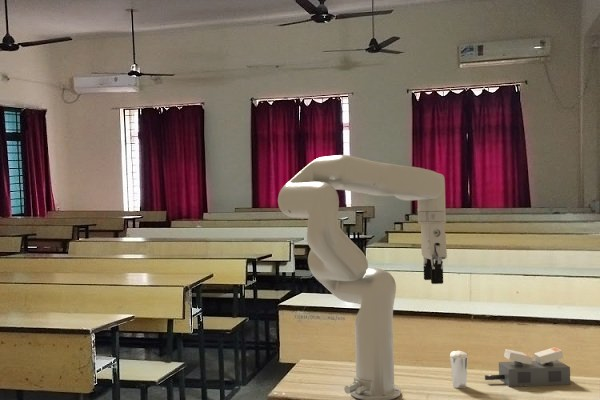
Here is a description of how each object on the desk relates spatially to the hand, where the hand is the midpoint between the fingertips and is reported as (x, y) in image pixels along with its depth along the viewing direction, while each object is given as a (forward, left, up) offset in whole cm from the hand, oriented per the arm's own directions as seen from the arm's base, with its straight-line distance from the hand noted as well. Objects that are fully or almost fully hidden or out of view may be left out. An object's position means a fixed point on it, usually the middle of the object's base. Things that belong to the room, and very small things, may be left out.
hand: (433, 281), depth 166 cm
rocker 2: (+14, -26, -19) cm, 35 cm away
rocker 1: (+8, -20, -19) cm, 29 cm away
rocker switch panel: (+9, -21, -26) cm, 35 cm away
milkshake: (-5, -11, -26) cm, 29 cm away
